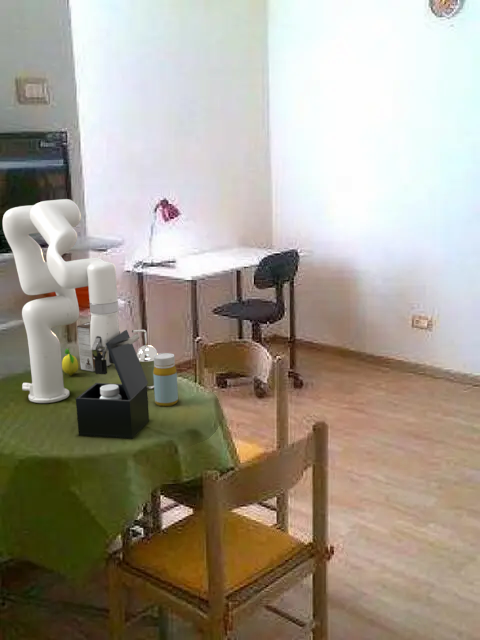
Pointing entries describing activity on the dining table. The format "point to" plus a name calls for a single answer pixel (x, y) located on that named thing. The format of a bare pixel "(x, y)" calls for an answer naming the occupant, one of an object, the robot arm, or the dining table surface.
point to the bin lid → (127, 363)
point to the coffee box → (87, 348)
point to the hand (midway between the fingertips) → (108, 368)
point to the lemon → (69, 363)
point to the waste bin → (111, 413)
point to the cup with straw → (147, 360)
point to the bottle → (165, 379)
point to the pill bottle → (110, 392)
